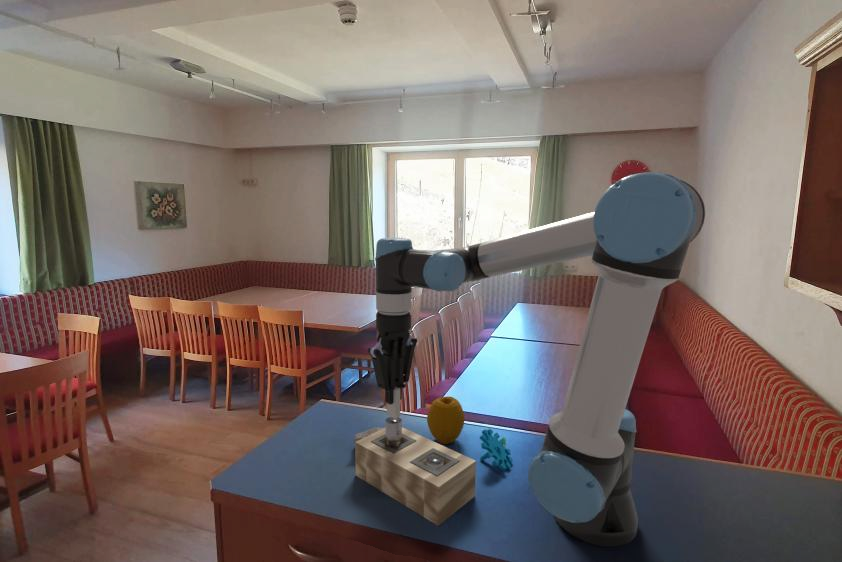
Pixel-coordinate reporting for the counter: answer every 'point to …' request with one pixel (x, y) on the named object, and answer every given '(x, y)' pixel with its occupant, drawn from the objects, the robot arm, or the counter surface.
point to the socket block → (417, 474)
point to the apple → (445, 419)
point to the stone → (366, 433)
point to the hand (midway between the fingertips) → (393, 415)
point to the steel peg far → (393, 432)
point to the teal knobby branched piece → (495, 449)
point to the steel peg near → (435, 462)
